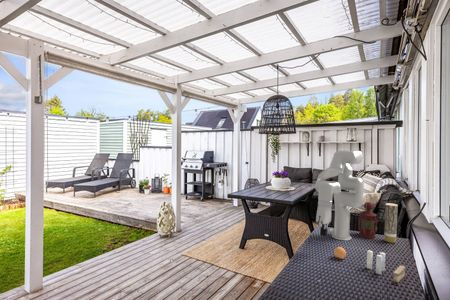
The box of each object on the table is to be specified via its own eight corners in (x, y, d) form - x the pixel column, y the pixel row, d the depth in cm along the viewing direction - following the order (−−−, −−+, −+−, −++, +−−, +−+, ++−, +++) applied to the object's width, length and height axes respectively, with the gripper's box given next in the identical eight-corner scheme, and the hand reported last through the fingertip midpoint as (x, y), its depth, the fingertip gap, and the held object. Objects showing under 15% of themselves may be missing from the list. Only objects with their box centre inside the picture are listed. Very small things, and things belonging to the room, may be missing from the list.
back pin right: (375, 272, 126) (375, 255, 126) (376, 271, 128) (377, 254, 128) (380, 274, 125) (381, 257, 125) (382, 273, 126) (382, 256, 126)
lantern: (373, 240, 175) (374, 196, 175) (354, 235, 184) (356, 193, 184) (379, 236, 183) (381, 194, 183) (361, 232, 192) (363, 191, 192)
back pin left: (378, 270, 130) (379, 253, 130) (380, 268, 132) (380, 251, 131) (383, 271, 128) (384, 254, 128) (385, 270, 130) (386, 253, 130)
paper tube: (392, 243, 169) (393, 205, 169) (381, 240, 175) (383, 203, 175) (398, 242, 172) (399, 205, 172) (387, 239, 178) (389, 202, 178)
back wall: (393, 281, 119) (393, 272, 119) (400, 273, 127) (400, 265, 127) (398, 282, 117) (398, 274, 117) (404, 274, 126) (405, 266, 126)
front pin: (365, 267, 132) (366, 251, 132) (367, 266, 133) (368, 250, 133) (371, 269, 130) (371, 252, 130) (372, 268, 132) (373, 251, 132)
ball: (331, 257, 143) (332, 246, 143) (336, 255, 147) (337, 244, 147) (343, 261, 138) (343, 250, 138) (347, 258, 143) (347, 247, 143)
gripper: (324, 201, 157) (323, 231, 157) (312, 203, 147) (311, 235, 147) (337, 203, 152) (335, 234, 151) (325, 206, 142) (323, 239, 141)
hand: (323, 235), depth 149 cm, fingers closed
